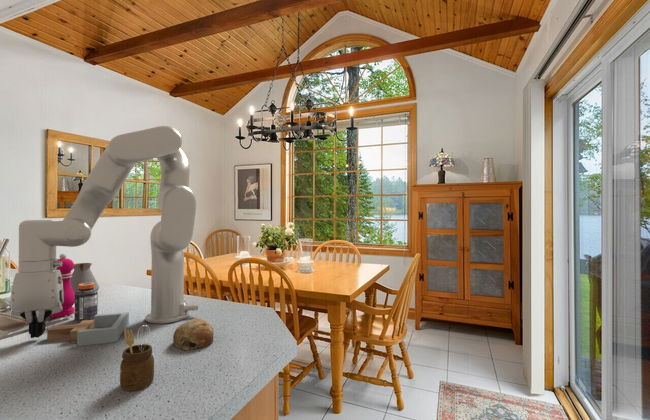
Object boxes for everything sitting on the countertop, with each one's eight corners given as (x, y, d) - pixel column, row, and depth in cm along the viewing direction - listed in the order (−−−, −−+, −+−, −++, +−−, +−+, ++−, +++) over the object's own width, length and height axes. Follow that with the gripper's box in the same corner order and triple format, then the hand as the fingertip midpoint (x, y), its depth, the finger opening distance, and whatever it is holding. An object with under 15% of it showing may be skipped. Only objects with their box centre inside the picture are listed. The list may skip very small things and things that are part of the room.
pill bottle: (76, 317, 106) (76, 282, 106) (98, 315, 108) (99, 280, 108) (72, 323, 100) (72, 286, 100) (96, 320, 103) (96, 284, 103)
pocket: (128, 323, 101) (128, 312, 101) (115, 341, 87) (115, 328, 87) (95, 326, 98) (96, 314, 98) (77, 346, 84) (77, 332, 84)
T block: (56, 333, 92) (57, 322, 92) (94, 329, 95) (94, 319, 95) (41, 345, 84) (41, 334, 84) (83, 341, 87) (83, 330, 87)
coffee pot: (64, 295, 133) (64, 258, 133) (98, 291, 140) (99, 256, 140) (60, 308, 116) (60, 265, 116) (100, 303, 122) (100, 262, 122)
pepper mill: (60, 318, 105) (61, 255, 105) (41, 317, 106) (42, 254, 106) (81, 311, 112) (82, 252, 112) (63, 310, 113) (64, 252, 113)
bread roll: (171, 363, 83) (168, 340, 79) (177, 332, 92) (175, 310, 88) (212, 359, 85) (212, 336, 82) (214, 329, 94) (214, 307, 91)
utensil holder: (159, 376, 69) (160, 319, 69) (142, 393, 63) (142, 330, 63) (132, 376, 69) (132, 318, 69) (111, 392, 63) (112, 329, 63)
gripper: (76, 263, 93) (76, 328, 93) (10, 265, 88) (9, 334, 88) (66, 267, 86) (65, 337, 86) (-8, 270, 81) (-8, 345, 81)
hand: (37, 335), depth 87 cm, fingers closed
